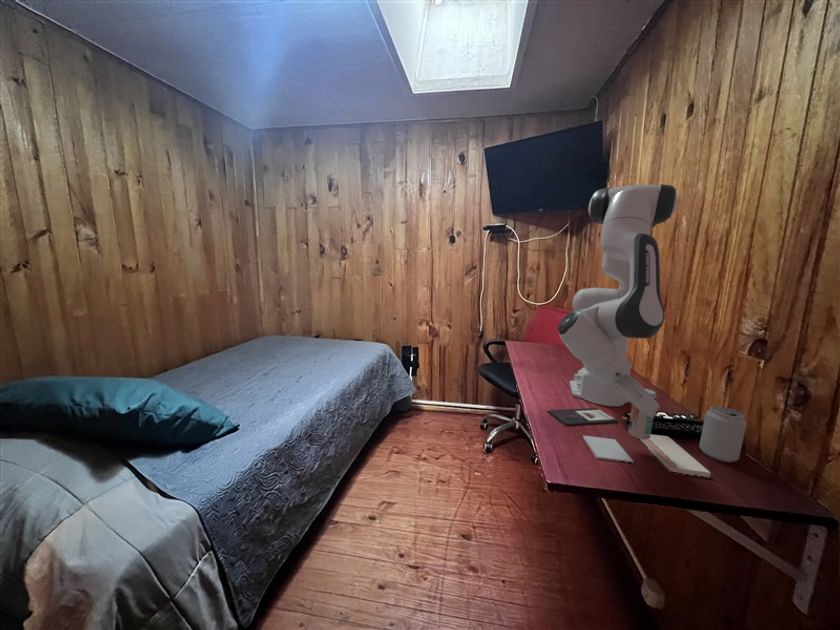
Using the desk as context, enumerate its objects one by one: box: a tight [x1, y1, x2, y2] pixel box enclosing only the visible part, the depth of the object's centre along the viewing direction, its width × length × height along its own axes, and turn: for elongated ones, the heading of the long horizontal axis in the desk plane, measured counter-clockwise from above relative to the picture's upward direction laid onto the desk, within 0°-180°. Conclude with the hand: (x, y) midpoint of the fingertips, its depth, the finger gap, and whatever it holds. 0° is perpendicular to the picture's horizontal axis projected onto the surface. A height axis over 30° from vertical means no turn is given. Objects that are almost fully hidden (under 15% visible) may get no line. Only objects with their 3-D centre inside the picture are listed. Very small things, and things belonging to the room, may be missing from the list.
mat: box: [582, 435, 634, 464], centre depth 83 cm, size 10×8×1 cm
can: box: [698, 405, 747, 463], centre depth 82 cm, size 8×8×12 cm
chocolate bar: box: [546, 407, 619, 427], centre depth 100 cm, size 9×1×18 cm
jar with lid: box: [627, 387, 658, 440], centre depth 81 cm, size 5×5×12 cm
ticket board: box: [640, 433, 711, 478], centre depth 81 cm, size 16×8×1 cm, turn 171°
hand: (645, 409), depth 81 cm, fingers closed on jar with lid, 5 cm apart
